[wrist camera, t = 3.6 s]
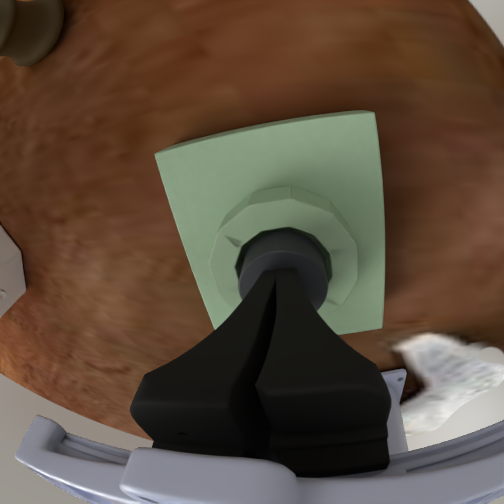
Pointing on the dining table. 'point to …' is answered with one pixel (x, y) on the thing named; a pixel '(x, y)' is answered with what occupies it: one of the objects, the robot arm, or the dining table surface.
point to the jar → (10, 273)
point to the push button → (286, 263)
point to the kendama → (29, 29)
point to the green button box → (285, 207)
